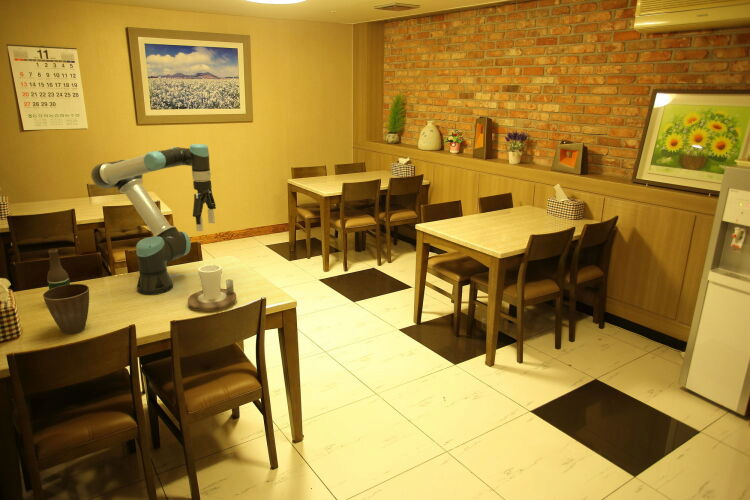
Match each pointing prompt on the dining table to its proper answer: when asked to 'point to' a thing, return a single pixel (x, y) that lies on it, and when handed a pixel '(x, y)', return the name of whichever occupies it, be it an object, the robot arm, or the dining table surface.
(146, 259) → the robot arm
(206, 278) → the foam cup
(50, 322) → the dining table surface
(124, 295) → the dining table surface
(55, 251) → the beer bottle
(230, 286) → the turntable
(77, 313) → the plant pot
